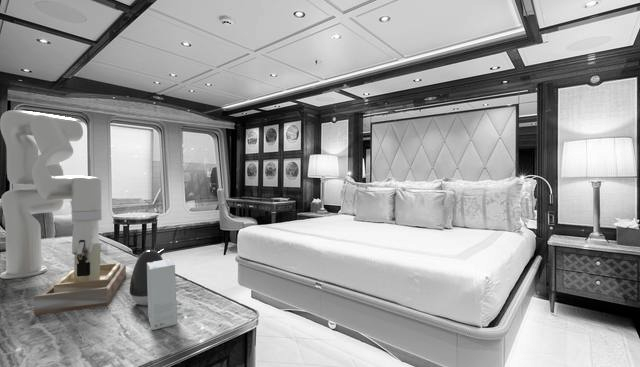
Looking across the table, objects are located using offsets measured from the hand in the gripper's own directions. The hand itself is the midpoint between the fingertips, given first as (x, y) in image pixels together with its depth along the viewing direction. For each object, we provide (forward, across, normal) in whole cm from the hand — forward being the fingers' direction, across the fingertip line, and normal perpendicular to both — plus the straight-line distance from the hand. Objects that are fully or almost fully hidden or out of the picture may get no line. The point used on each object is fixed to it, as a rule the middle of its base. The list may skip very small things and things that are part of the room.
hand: (87, 271), depth 99 cm
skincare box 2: (+6, +32, +23) cm, 40 cm away
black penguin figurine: (+6, +17, +19) cm, 26 cm away
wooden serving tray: (+6, +1, 0) cm, 6 cm away
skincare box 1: (+3, 0, 0) cm, 3 cm away
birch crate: (+5, -3, 0) cm, 6 cm away
